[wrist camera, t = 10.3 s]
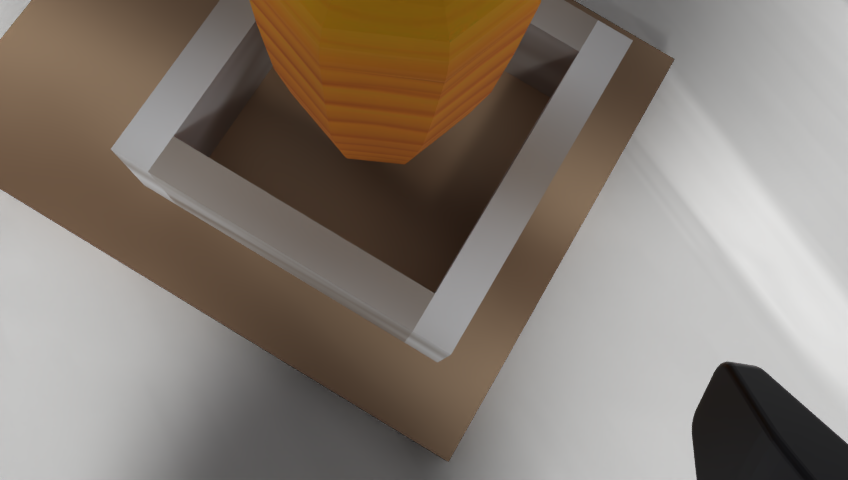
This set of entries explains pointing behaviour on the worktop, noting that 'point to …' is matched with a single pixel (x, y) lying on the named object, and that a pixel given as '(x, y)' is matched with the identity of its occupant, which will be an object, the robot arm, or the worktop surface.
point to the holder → (320, 190)
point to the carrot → (390, 65)
